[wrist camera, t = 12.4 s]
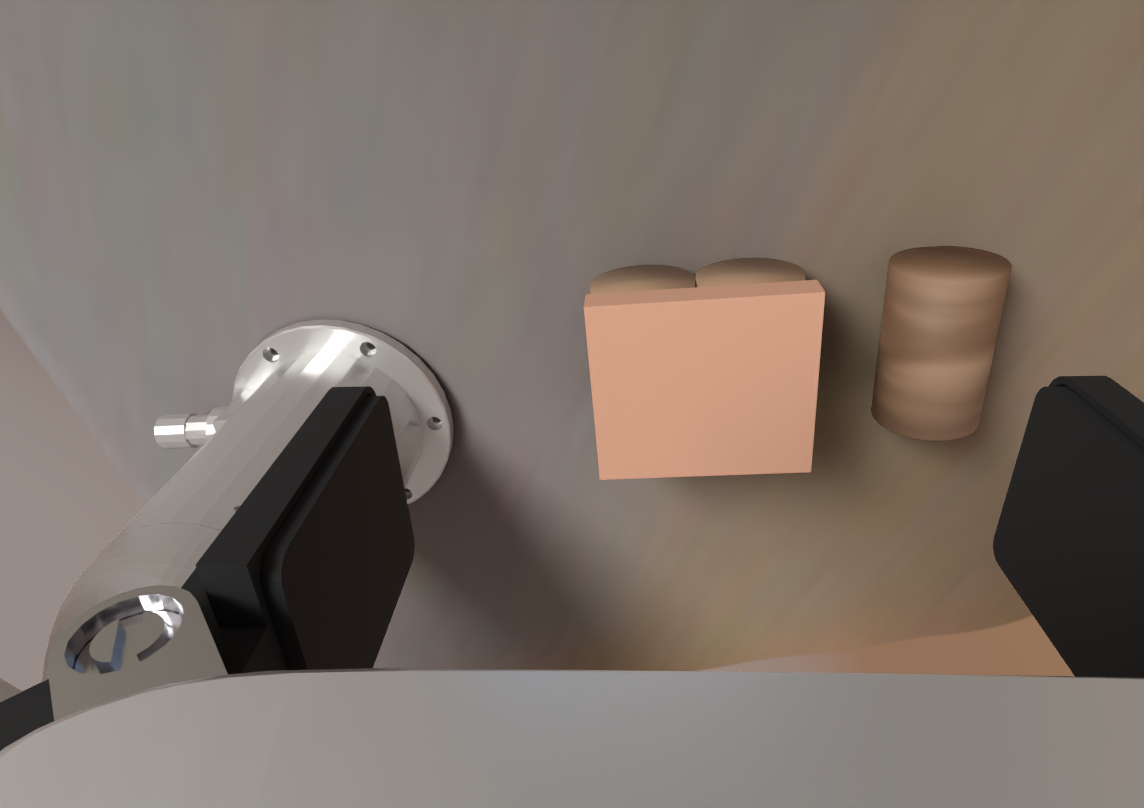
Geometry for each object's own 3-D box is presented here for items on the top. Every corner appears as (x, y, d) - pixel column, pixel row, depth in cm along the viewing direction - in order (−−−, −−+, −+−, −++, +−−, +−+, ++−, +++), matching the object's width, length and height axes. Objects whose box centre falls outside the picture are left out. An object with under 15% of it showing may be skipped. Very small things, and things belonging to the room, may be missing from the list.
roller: (876, 249, 35) (907, 285, 31) (985, 242, 35) (1032, 278, 30) (860, 392, 39) (886, 442, 35) (958, 389, 39) (996, 439, 34)
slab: (604, 413, 41) (599, 479, 35) (591, 258, 37) (583, 307, 31) (785, 404, 40) (811, 472, 34) (794, 244, 35) (825, 292, 30)
